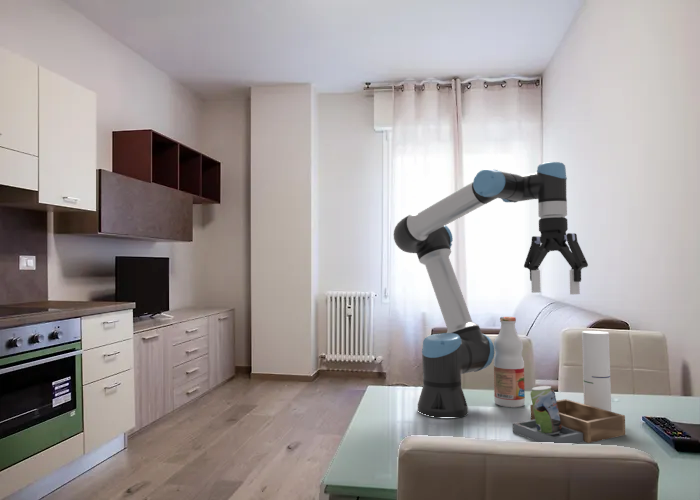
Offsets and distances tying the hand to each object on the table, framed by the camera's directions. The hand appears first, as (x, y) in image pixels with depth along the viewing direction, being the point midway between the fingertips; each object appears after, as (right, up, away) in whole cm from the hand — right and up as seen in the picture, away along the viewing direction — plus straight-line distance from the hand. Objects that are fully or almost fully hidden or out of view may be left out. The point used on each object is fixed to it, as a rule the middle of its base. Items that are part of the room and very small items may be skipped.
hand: (554, 293), depth 140 cm
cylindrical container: (+15, -37, +5) cm, 40 cm away
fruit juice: (-6, -38, +22) cm, 44 cm away
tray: (-6, -36, -10) cm, 38 cm away
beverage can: (-6, -36, -10) cm, 38 cm away
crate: (+4, -37, -3) cm, 37 cm away
